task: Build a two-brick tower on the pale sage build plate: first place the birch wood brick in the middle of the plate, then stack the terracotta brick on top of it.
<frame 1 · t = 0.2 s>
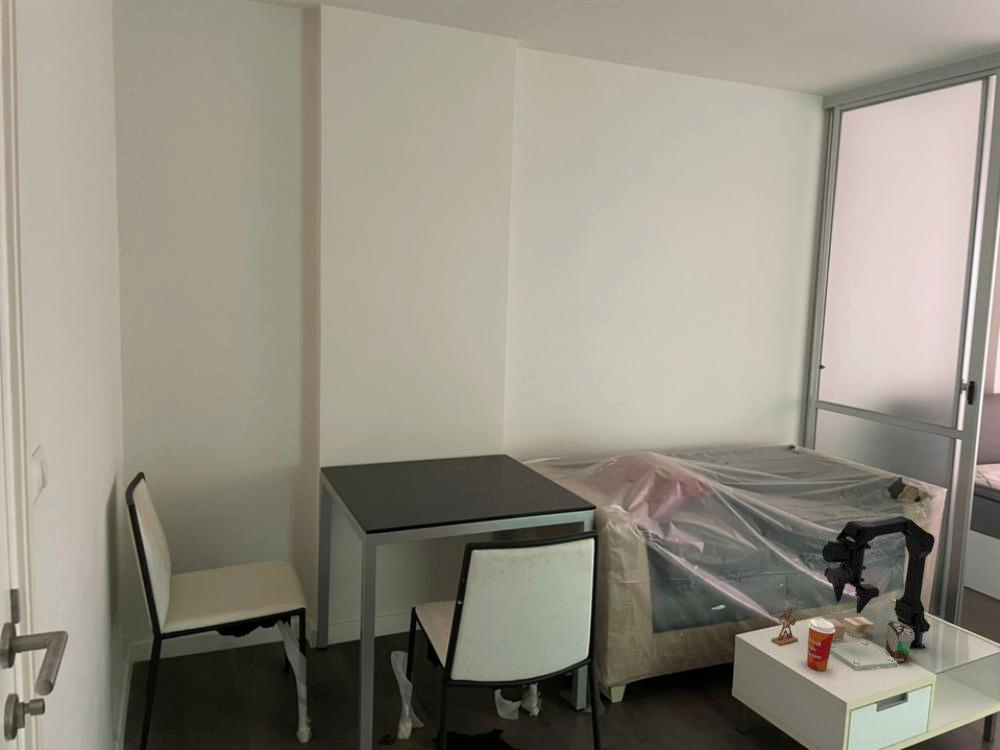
hand: (847, 607, 251), 14 cm above the table, fingers open, 9 cm apart
birch brick: (856, 634, 264), on the table
brown figurine: (784, 641, 255), on the table
terracotta brick: (827, 637, 261), on the table
paper cup: (816, 667, 238), on the table
build plate: (860, 657, 246), on the table
food container: (900, 658, 249), on the table
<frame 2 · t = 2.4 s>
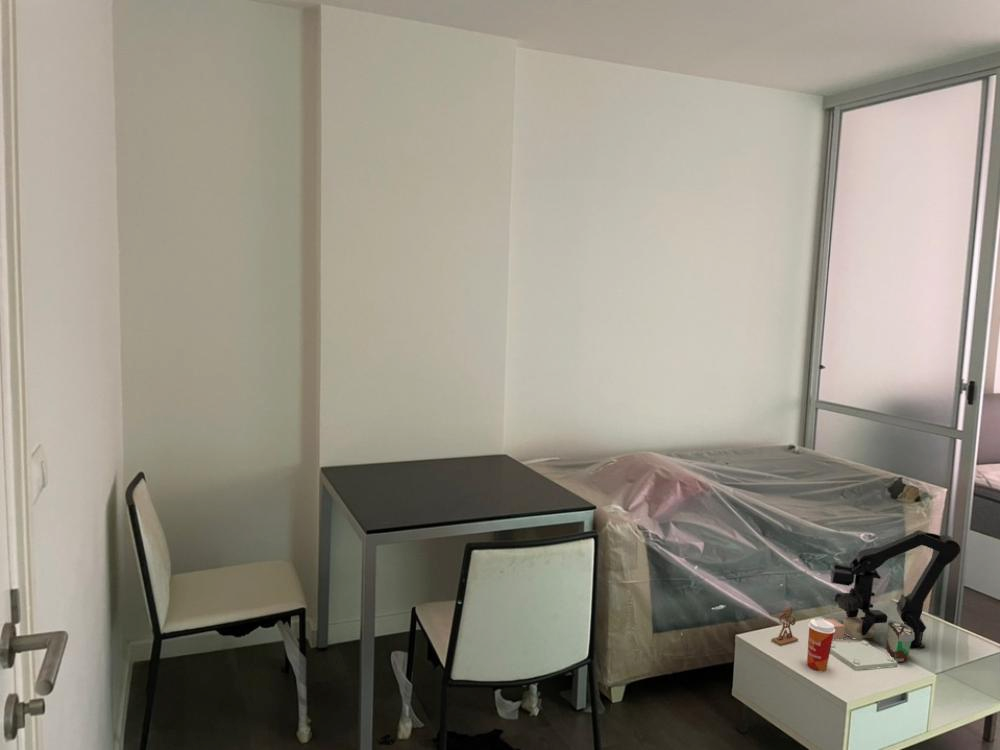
hand: (857, 631, 264), 1 cm above the table, fingers closed on birch brick, 5 cm apart
birch brick: (856, 634, 264), on the table, touching gripper
everything else where it was.
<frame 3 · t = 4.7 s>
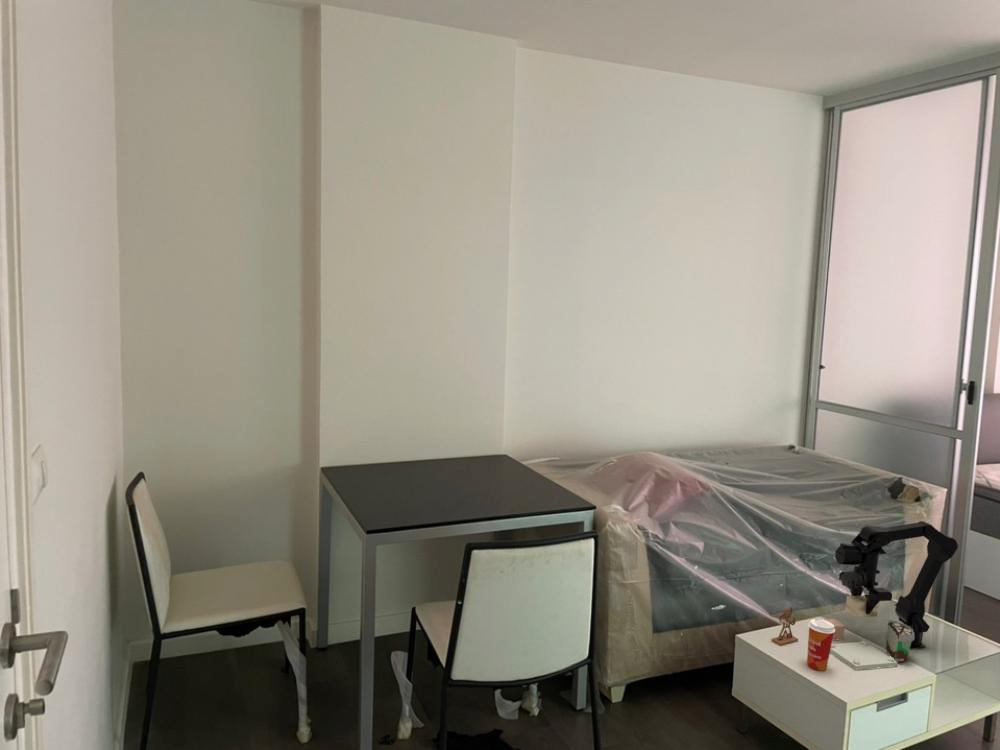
hand: (861, 610, 257), 11 cm above the table, fingers closed on birch brick, 5 cm apart
birch brick: (860, 613, 257), point 10 cm above the table, touching gripper
everything else where it was.
when the fingers open (4 cm above the table, at t = 7.2 s): birch brick drops 1 cm, resting on build plate.
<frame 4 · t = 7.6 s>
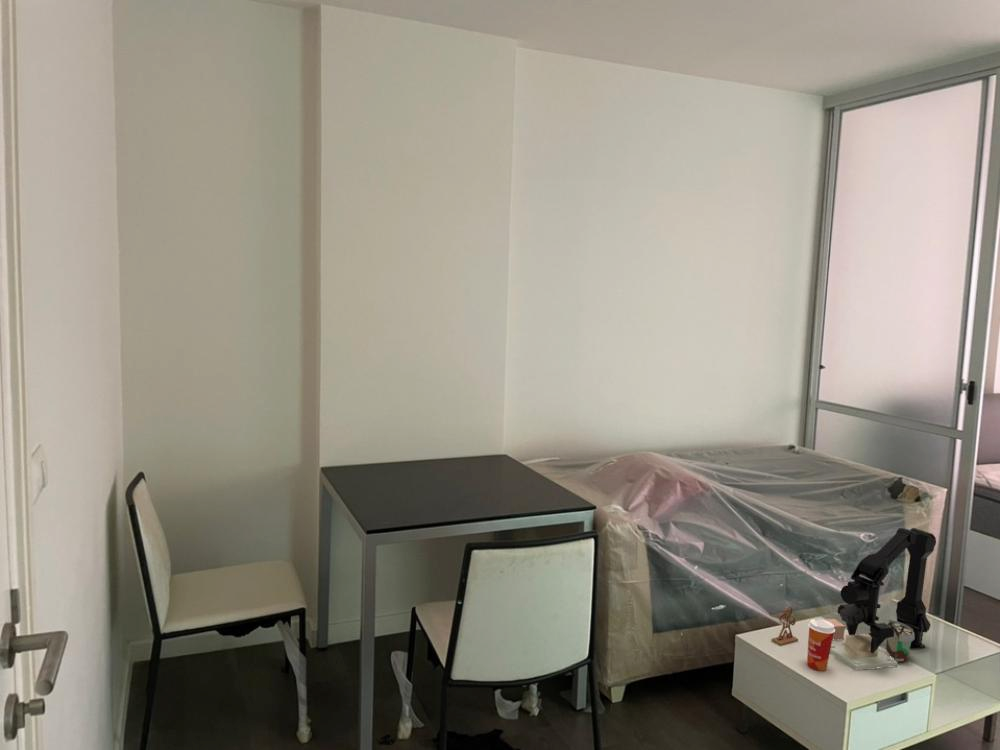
hand: (861, 645, 246), 4 cm above the table, fingers open, 9 cm apart
birch brick: (860, 653, 246), point 1 cm above the table, touching build plate
everything else where it was.
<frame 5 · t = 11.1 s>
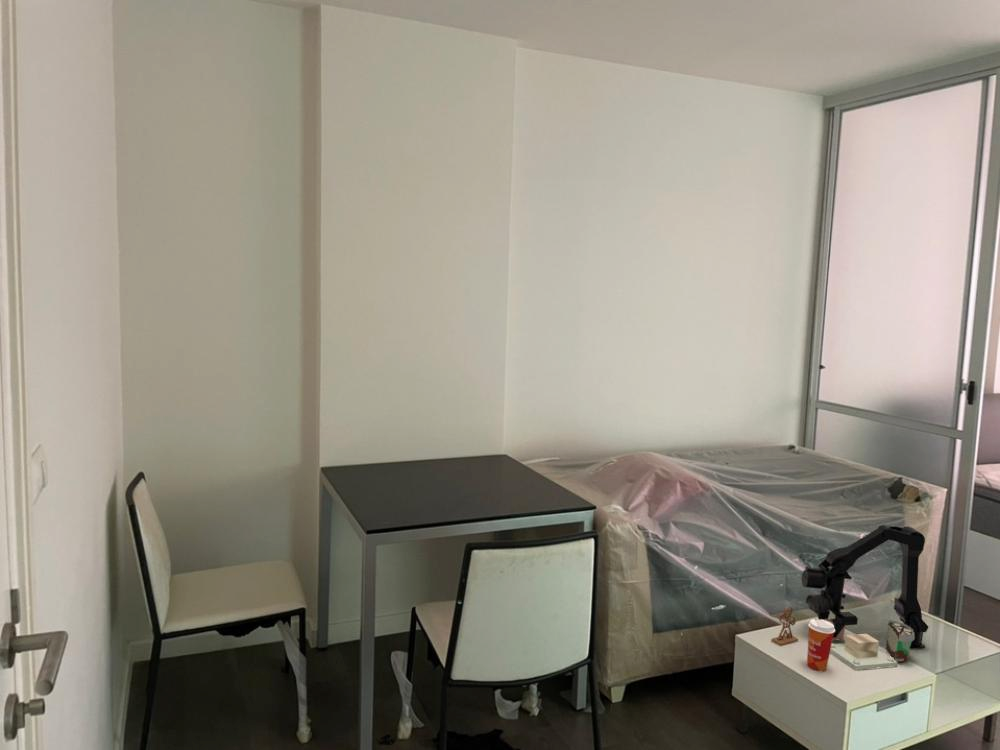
hand: (828, 633, 261), 1 cm above the table, fingers closed on terracotta brick, 5 cm apart
terracotta brick: (827, 636, 261), on the table, touching gripper
everything else where it was.
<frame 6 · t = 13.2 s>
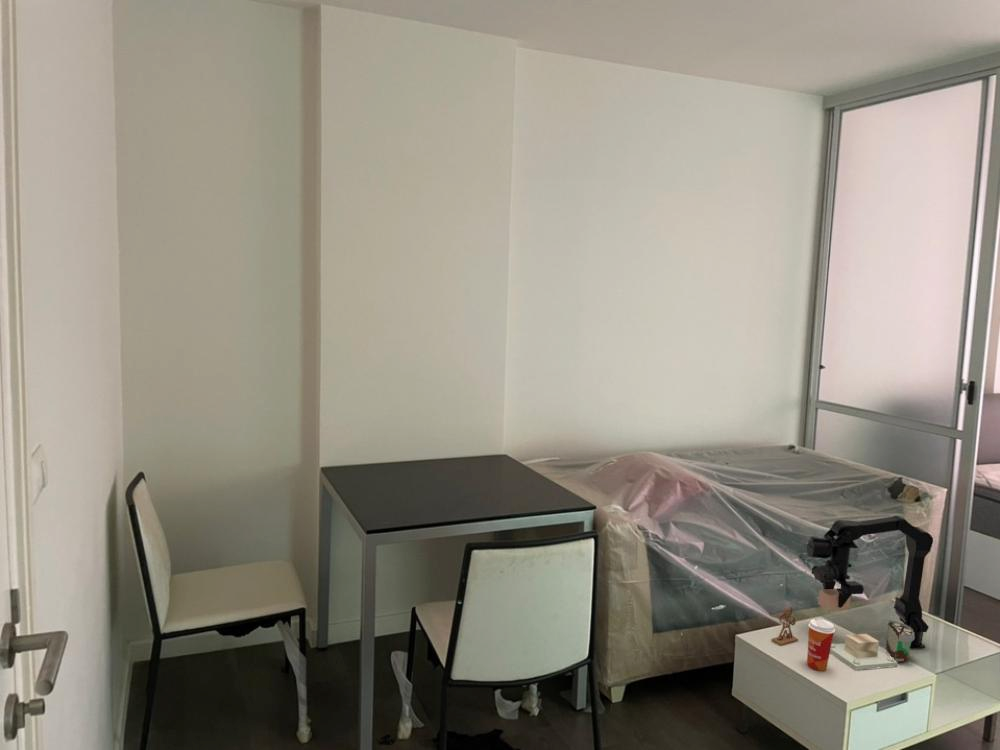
hand: (833, 603, 259), 12 cm above the table, fingers closed on terracotta brick, 5 cm apart
terracotta brick: (833, 606, 259), point 11 cm above the table, touching gripper
everything else where it was.
when the fingers open (9 cm above the table, at t = 15.3 s): terracotta brick drops 1 cm, resting on birch brick.
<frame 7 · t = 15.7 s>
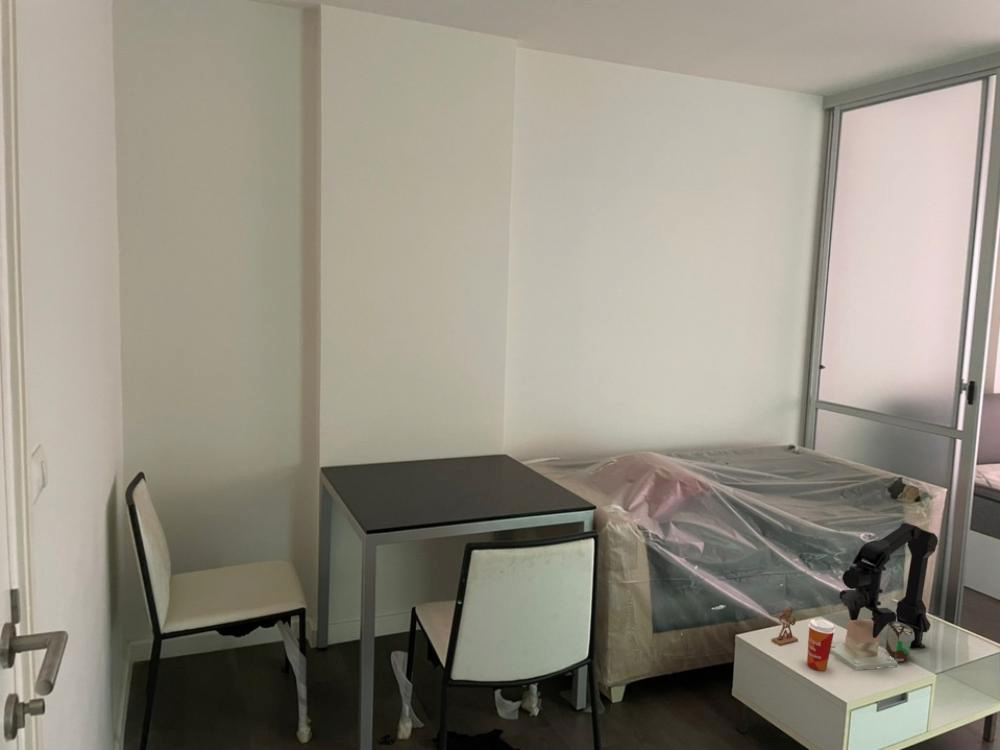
hand: (863, 631, 245), 9 cm above the table, fingers open, 9 cm apart
birch brick: (860, 653, 246), point 1 cm above the table, touching build plate, terracotta brick
terracotta brick: (863, 638, 246), point 6 cm above the table, touching birch brick
everything else where it was.
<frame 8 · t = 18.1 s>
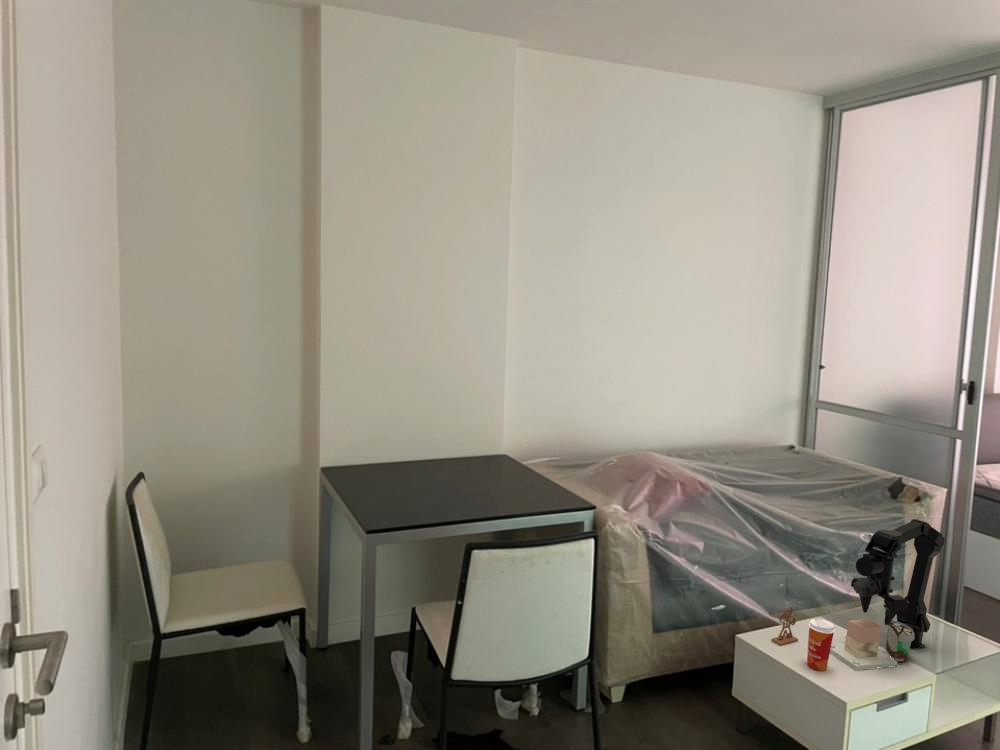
hand: (875, 618, 246), 13 cm above the table, fingers open, 9 cm apart
nothing on the table moved.
at the end: birch brick 0.1 cm off-centre on the build plate, point 1.5 cm above the build plate's base; terracotta brick 0.1 cm off-centre on the birch brick, point 5.0 cm above the birch brick's base; terracotta brick tilted 0° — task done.
